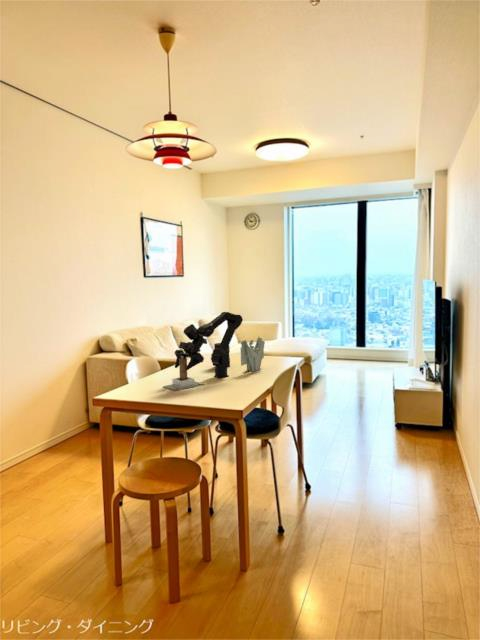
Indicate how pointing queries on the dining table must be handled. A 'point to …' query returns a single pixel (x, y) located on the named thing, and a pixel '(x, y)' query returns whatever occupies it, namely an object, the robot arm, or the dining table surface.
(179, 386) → the grey stand base
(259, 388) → the dining table surface
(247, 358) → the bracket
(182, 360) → the rail post
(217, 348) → the storage jar
